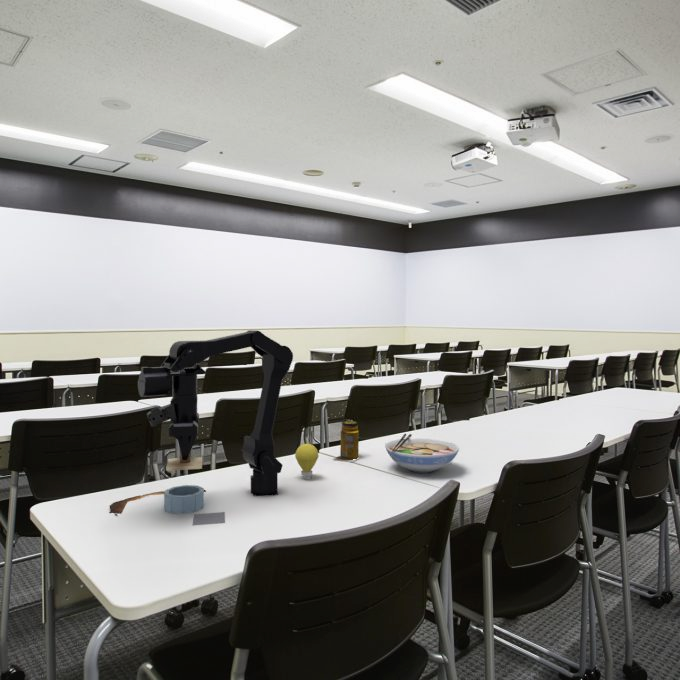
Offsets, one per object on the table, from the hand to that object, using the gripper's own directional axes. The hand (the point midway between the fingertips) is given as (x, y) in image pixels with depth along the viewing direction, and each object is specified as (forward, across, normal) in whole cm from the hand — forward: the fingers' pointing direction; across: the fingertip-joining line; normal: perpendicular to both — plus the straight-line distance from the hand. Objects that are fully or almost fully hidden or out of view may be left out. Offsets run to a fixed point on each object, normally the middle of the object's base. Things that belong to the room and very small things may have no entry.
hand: (185, 458), depth 130 cm
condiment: (+13, -40, +50) cm, 65 cm away
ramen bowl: (+13, -21, +69) cm, 73 cm away
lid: (+2, 0, 0) cm, 2 cm away
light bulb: (+13, -20, +33) cm, 41 cm away
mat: (+12, +9, +6) cm, 16 cm away
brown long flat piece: (+13, -9, -7) cm, 17 cm away
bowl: (+12, 0, 0) cm, 13 cm away
